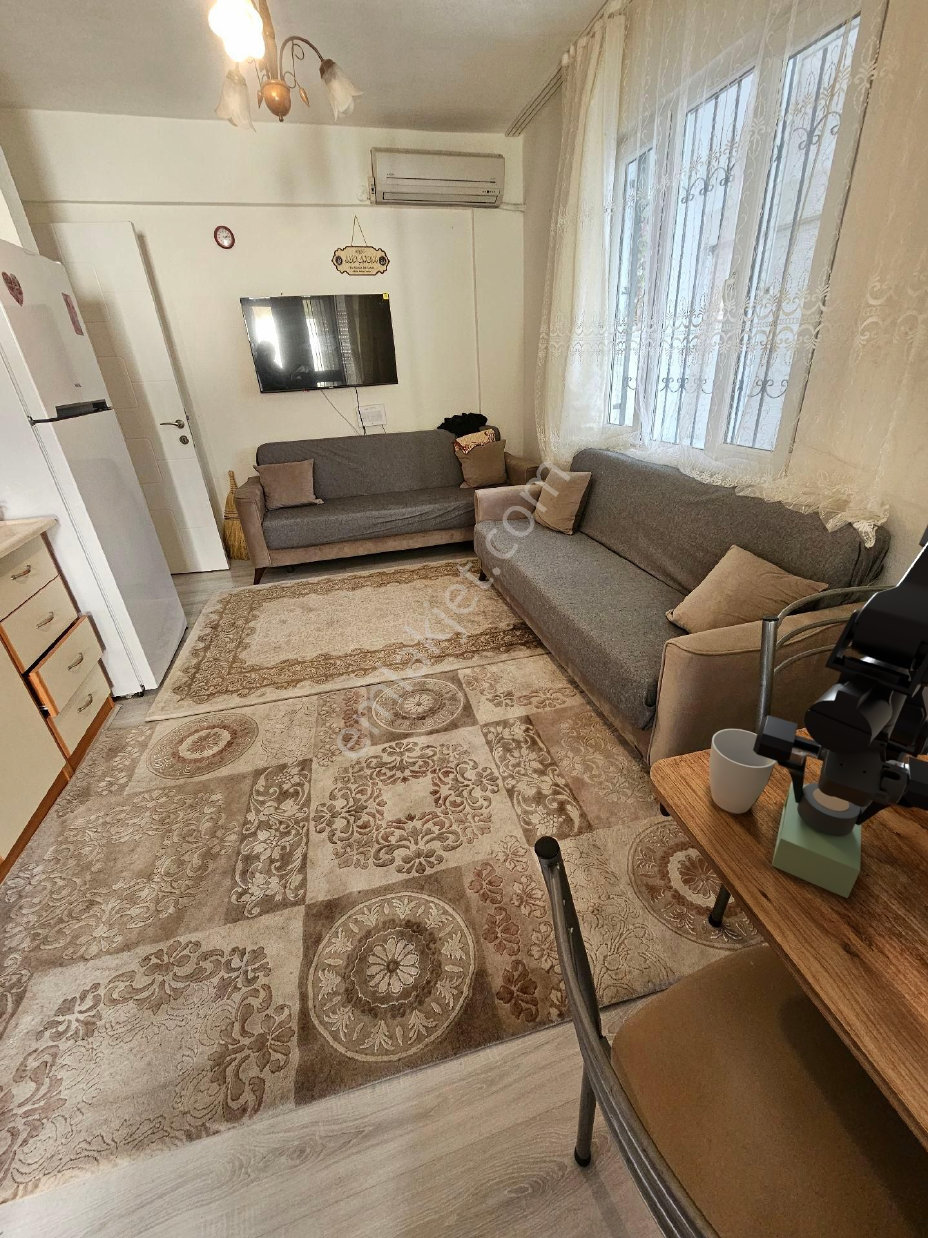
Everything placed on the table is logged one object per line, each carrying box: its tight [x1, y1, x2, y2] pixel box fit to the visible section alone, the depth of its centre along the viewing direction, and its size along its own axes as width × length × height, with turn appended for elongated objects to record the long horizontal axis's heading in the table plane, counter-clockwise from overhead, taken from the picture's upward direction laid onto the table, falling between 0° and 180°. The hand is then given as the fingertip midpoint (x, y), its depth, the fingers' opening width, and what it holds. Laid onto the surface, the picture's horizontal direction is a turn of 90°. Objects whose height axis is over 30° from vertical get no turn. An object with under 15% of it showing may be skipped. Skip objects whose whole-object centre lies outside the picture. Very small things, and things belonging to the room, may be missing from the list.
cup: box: [708, 728, 777, 814], centre depth 72 cm, size 8×8×10 cm
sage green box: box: [771, 781, 862, 899], centre depth 66 cm, size 12×8×5 cm, turn 144°
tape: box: [797, 782, 860, 836], centre depth 64 cm, size 6×6×3 cm
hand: (826, 811), depth 64 cm, fingers closed on tape, 6 cm apart
